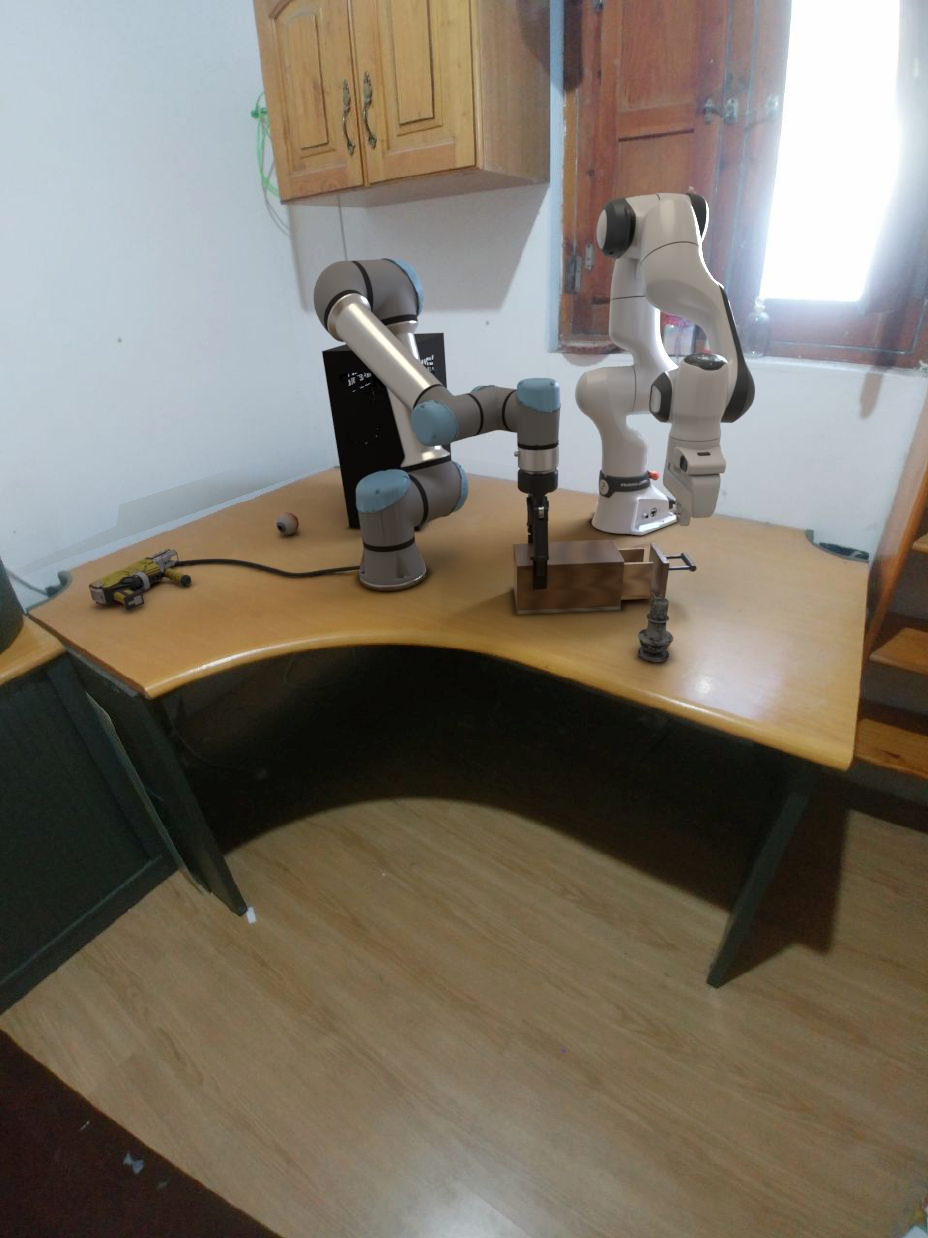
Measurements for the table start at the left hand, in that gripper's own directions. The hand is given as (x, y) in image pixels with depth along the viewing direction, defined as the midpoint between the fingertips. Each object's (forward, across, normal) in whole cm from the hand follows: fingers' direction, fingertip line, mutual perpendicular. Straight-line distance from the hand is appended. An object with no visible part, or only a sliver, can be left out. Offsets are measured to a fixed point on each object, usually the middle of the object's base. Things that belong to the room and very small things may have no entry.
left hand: (536, 575), depth 122 cm
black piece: (+6, -62, -33) cm, 71 cm away
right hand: (-10, 0, +28) cm, 30 cm away
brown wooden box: (+6, 0, +6) cm, 8 cm away
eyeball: (+6, -44, -64) cm, 77 cm away
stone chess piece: (+6, +22, +18) cm, 29 cm away
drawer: (+5, 0, +18) cm, 19 cm away
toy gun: (+6, -14, -87) cm, 88 cm away
